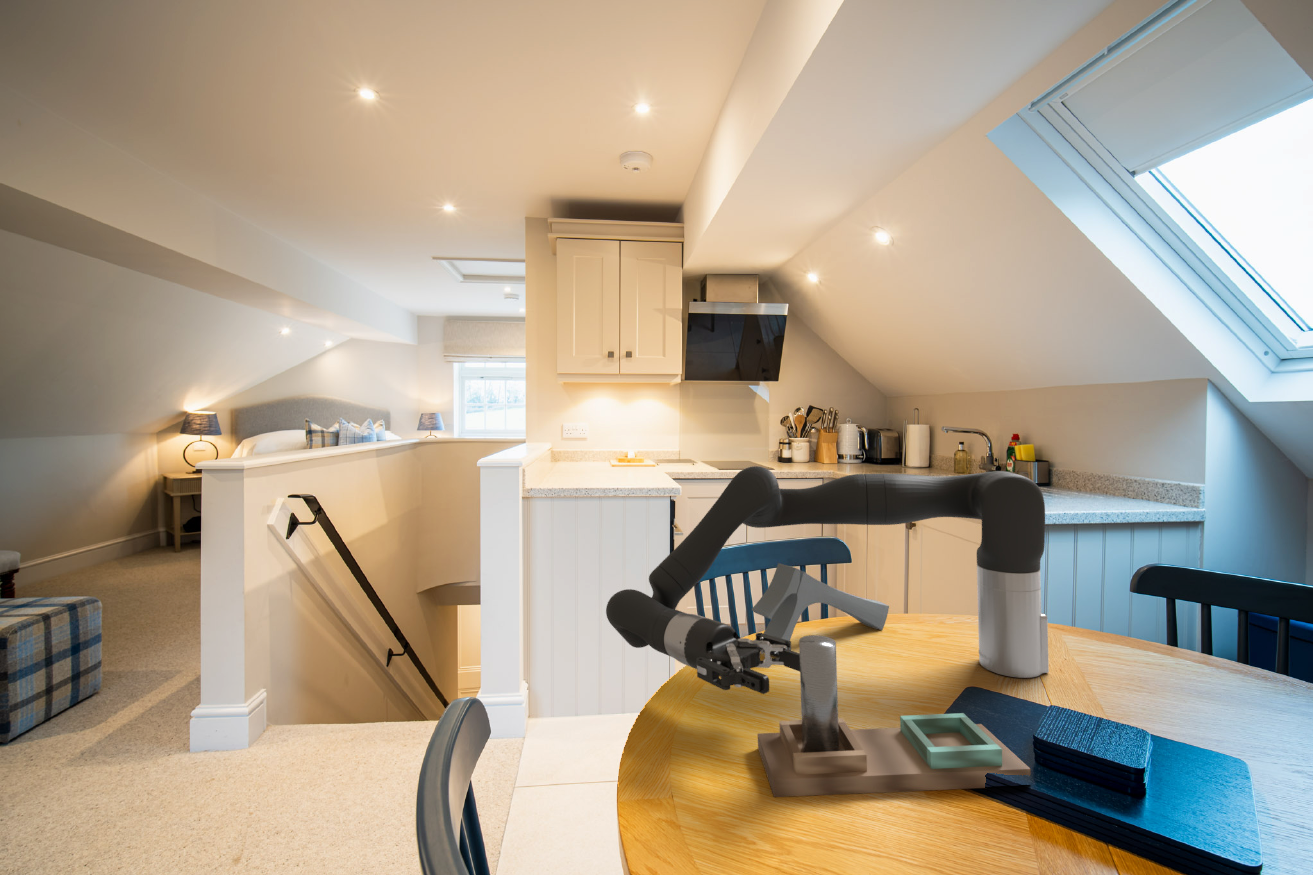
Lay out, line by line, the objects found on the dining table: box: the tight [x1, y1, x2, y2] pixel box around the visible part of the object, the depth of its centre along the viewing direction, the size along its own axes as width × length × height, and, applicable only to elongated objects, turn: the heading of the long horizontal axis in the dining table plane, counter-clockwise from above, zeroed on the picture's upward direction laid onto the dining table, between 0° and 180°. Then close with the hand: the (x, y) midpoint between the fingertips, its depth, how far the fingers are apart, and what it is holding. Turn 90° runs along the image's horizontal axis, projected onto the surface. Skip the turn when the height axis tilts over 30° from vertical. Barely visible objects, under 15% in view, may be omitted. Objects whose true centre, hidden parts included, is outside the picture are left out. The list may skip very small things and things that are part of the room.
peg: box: [798, 634, 839, 753], centre depth 72 cm, size 4×4×14 cm
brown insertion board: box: [757, 712, 1032, 798], centre depth 72 cm, size 30×10×4 cm, turn 90°
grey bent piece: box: [751, 562, 890, 641], centre depth 112 cm, size 6×17×30 cm
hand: (788, 674), depth 75 cm, fingers open, 8 cm apart
